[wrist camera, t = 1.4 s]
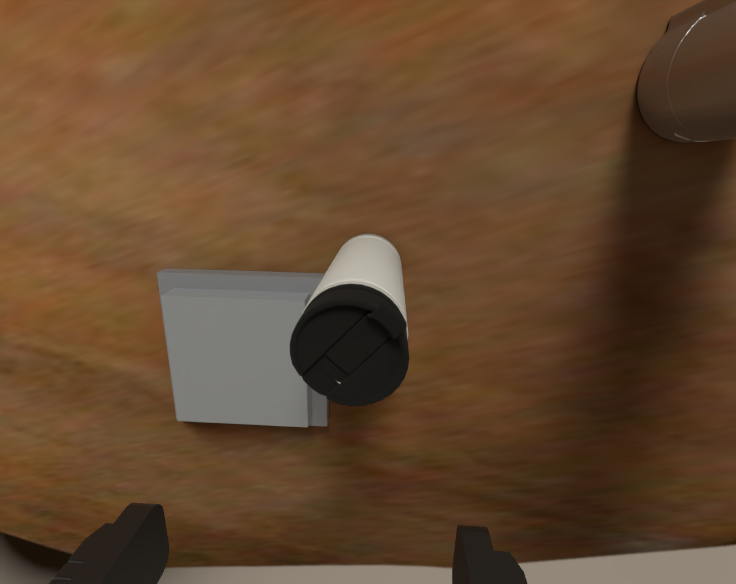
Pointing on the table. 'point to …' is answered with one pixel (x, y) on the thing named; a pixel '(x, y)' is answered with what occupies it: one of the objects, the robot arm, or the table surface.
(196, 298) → the slate plinth
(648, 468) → the table surface
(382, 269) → the travel mug
